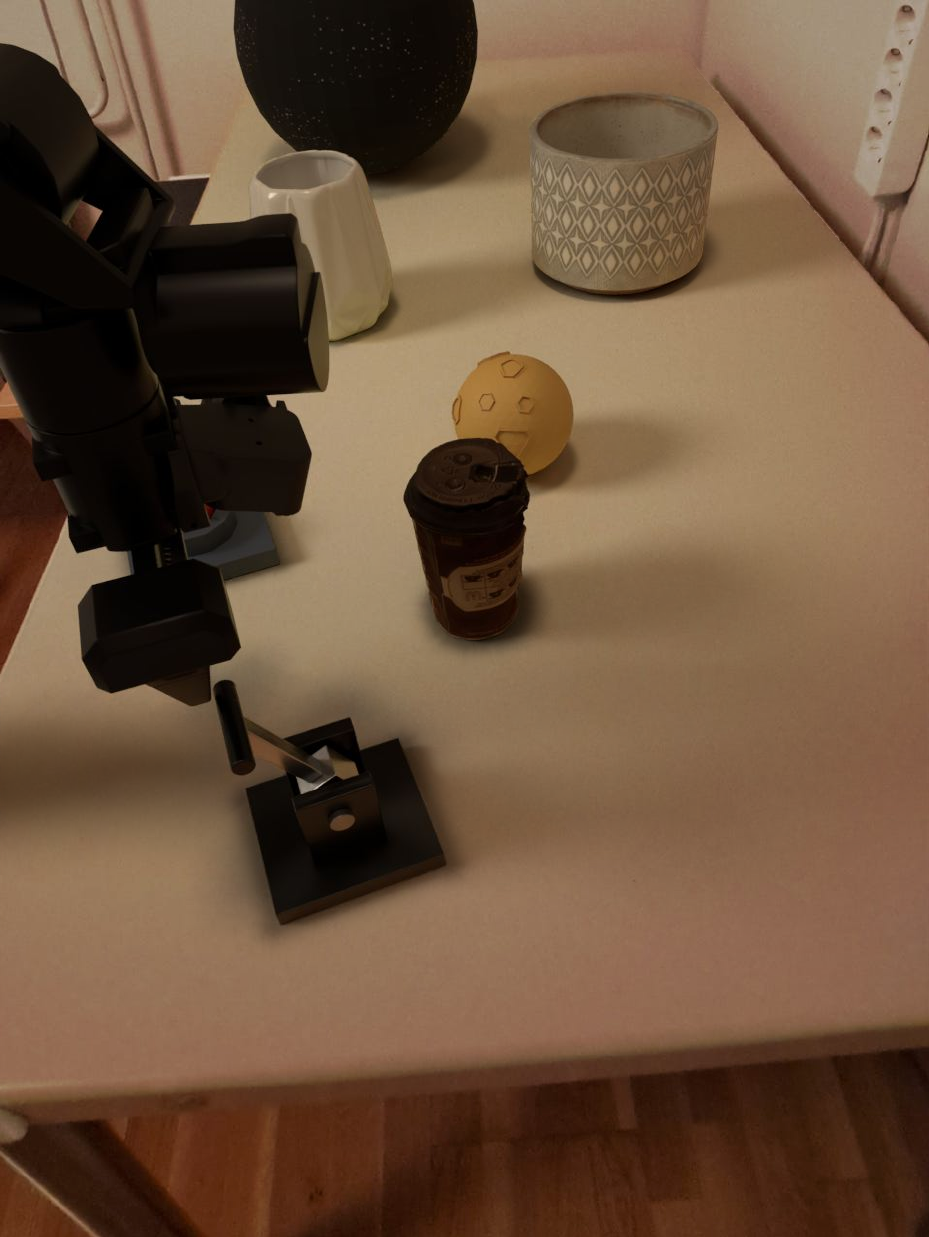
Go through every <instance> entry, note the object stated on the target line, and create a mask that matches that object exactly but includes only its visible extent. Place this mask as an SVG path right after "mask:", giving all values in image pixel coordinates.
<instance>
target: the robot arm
mask: <svg viewBox="0 0 929 1237" xmlns="http://www.w3.org/2000/svg"><path fill="white" fill-rule="evenodd" d="M175 201H176V200H174V198H173V197H172V196H171V195H170V194H169V193H168V192H167V191H166V190H164V188H163V187H161V185H160V184H158V183H157V182H156V181H155V179H153V178H152V177H151V176H150V175H149V174H148V173H147V172H145V171H144V169H142V168H141V167H140V166H139V165H138V164H137V163H136V162H135V161H134V160H133V159H132V158H131V157H130V156H128V155H127V154H126V152H124V151H123V150H122V149H121V148H120V147H119V146H118V145H117V144H116V143H115V142H113V141H112V140H111V138H109V137H108V136H107V135H106V134H105V133H104V132H103V131H102V130H101V129H99V127H98V126H96V125H95V123H94V121H93V118H92V117H91V114H90V113H89V111H88V109H87V107H86V105H85V104H84V102H83V100H82V98H81V96H80V95H79V94H78V92H76V90H74V88H73V87H72V86H71V85H70V84H69V83H68V81H66V79H65V78H64V77H63V76H62V75H61V72H60V69H59V68H58V67H57V66H56V65H55V64H54V63H52V62H50V61H49V60H47V59H46V58H44V57H43V56H42V55H40V54H38V53H36V52H33V51H31V50H28V49H27V48H23V47H20V46H18V45H16V44H11V43H3V42H0V370H1V372H2V375H3V376H4V379H5V380H6V382H7V385H8V387H9V389H10V391H11V394H12V395H13V397H14V400H15V402H16V404H17V406H18V408H19V411H20V412H21V414H22V417H23V419H24V421H25V424H26V426H27V429H28V430H29V432H30V434H31V448H32V449H31V452H32V464H33V466H34V469H35V471H36V472H37V474H38V476H39V479H40V480H41V482H42V483H43V482H48V481H53V483H54V485H55V487H56V490H57V491H58V493H59V495H60V498H61V500H62V502H63V504H64V506H65V508H66V517H67V518H66V519H67V530H68V538H69V541H70V542H71V545H72V547H73V549H74V551H75V553H76V554H77V555H78V554H82V553H85V552H86V553H87V552H90V551H93V550H94V551H95V550H98V549H101V548H106V550H107V551H108V552H112V553H125V552H126V553H127V551H131V555H132V562H133V569H134V574H132V575H131V574H128V575H125V576H121V577H117V578H112V579H108V580H106V581H102V582H98V583H93V584H91V585H90V587H89V588H88V589H87V591H86V592H85V594H84V595H83V597H82V598H81V600H80V601H79V603H78V604H77V616H78V627H79V629H78V630H79V641H80V653H81V661H82V663H83V665H84V667H85V668H86V671H87V672H88V675H89V676H90V678H91V679H92V682H93V683H94V685H95V687H96V689H98V690H101V691H103V692H105V693H107V694H111V695H112V694H116V693H119V692H123V691H126V690H130V689H134V688H137V687H140V686H144V685H145V686H148V687H149V688H152V689H154V690H156V691H158V692H160V693H162V694H164V695H166V696H168V697H170V698H172V699H174V700H176V701H178V702H180V703H183V704H185V705H186V706H189V707H198V706H200V705H205V704H208V703H210V702H211V701H212V685H211V684H212V683H211V682H212V681H211V680H212V679H211V667H212V666H215V665H219V664H222V663H226V662H229V661H231V660H232V659H233V658H234V657H235V656H236V655H237V653H238V652H239V651H240V650H241V649H242V645H241V640H240V637H239V632H238V628H237V624H236V619H235V615H234V611H233V606H232V604H231V600H230V597H229V592H228V590H227V586H226V583H225V580H223V577H222V574H221V571H220V568H218V567H215V566H212V565H210V564H207V563H204V562H202V561H199V560H196V559H194V558H193V559H190V560H188V557H187V552H186V547H185V542H184V537H183V532H184V533H187V532H191V531H195V530H199V529H203V528H207V527H210V522H209V517H208V514H207V511H206V508H205V505H204V503H205V504H206V505H207V506H209V507H211V508H213V509H216V510H221V511H244V512H264V513H273V515H274V516H276V517H289V516H294V515H297V514H298V513H300V511H301V510H302V506H303V501H304V496H305V491H306V486H307V481H308V476H309V473H310V472H309V471H310V467H311V461H312V457H313V452H312V449H311V446H310V443H309V441H308V439H307V436H306V433H305V431H304V427H303V426H302V423H301V420H300V419H299V417H298V416H297V415H296V414H295V413H294V411H291V410H289V409H288V407H287V405H286V401H285V400H282V399H281V400H280V399H279V400H278V399H277V400H276V401H275V406H273V405H272V404H271V401H270V400H269V397H268V396H279V395H280V396H281V395H298V394H299V395H301V394H314V393H316V394H317V393H324V392H326V391H327V388H328V385H329V380H330V379H329V378H330V340H329V333H328V321H327V311H326V303H325V296H324V289H323V283H322V278H321V273H320V272H315V268H314V264H313V260H312V257H311V254H310V251H309V249H308V247H307V246H306V244H304V243H302V241H301V235H300V230H299V224H298V219H297V217H295V216H294V215H293V214H291V213H286V214H270V215H262V216H258V217H255V218H252V219H251V218H249V219H246V220H240V221H230V222H228V221H227V222H213V223H200V224H199V223H198V224H181V225H170V222H171V220H172V218H173V215H174V213H175V211H176V202H175ZM82 202H83V203H85V204H87V205H90V206H92V207H93V208H95V209H97V210H99V211H101V213H100V214H99V216H98V219H97V220H96V222H95V224H94V225H93V227H92V229H91V231H90V232H89V234H88V236H87V238H86V239H84V238H83V237H81V236H80V234H78V233H77V232H76V231H74V230H73V229H72V228H71V227H69V226H68V223H69V222H70V220H71V219H72V217H73V215H74V214H75V212H76V210H77V209H78V207H79V206H80V204H81V203H82ZM179 397H183V398H184V399H186V400H189V401H196V400H200V404H182V403H181V400H180V399H179Z"/></svg>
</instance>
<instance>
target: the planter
mask: <svg viewBox="0 0 929 1237" xmlns="http://www.w3.org/2000/svg"><path fill="white" fill-rule="evenodd" d="M717 118H718V117H717V116H716V115H715V114H714V113H713V112H712V111H711V110H710V109H708V108H707V107H705V106H704V105H702V104H701V103H698V102H696V101H693V100H690V99H687V98H683V97H680V96H677V95H676V96H675V95H671V94H665V93H655V92H644V91H643V92H641V91H618V92H617V91H616V92H605V93H596V94H591V95H584V96H580V97H576V98H572V99H568V100H565V101H563V102H559V103H557V104H555V105H552V106H550V107H548V108H546V109H545V110H543V111H542V112H540V113H539V114H538V115H537V116H535V118H534V119H533V121H532V122H531V124H530V127H529V148H530V149H529V150H530V157H529V158H530V159H529V160H530V230H531V233H530V235H531V236H530V237H531V241H530V242H531V257H532V261H533V263H534V264H535V265H536V267H537V268H538V269H539V270H540V271H541V272H543V273H544V274H545V275H546V276H548V277H550V278H552V279H553V280H555V281H558V282H560V283H562V284H564V285H566V286H568V287H571V288H573V289H575V290H579V291H581V292H586V293H591V294H599V295H611V296H612V295H613V296H614V295H615V296H616V295H630V294H631V295H632V294H638V293H644V292H647V291H651V290H654V289H657V288H660V287H662V286H664V285H666V284H668V283H671V282H673V281H675V280H678V279H680V278H681V277H683V276H685V275H687V274H688V273H690V272H691V271H692V270H693V269H694V268H696V267H697V265H698V264H699V262H701V258H702V256H703V253H704V245H705V237H706V229H707V222H708V221H707V220H708V214H709V204H710V196H711V190H712V180H713V173H714V165H715V164H714V163H715V156H716V150H717V149H716V147H717V140H718V132H719V121H718V119H717Z"/></svg>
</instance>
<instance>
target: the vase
mask: <svg viewBox="0 0 929 1237" xmlns="http://www.w3.org/2000/svg"><path fill="white" fill-rule="evenodd" d="M248 185H249V186H248V200H249V219H252V218H255V217H258V216H262V215H270V214H286V213H291V214H293V215H294V216H295V217H297V219H298V224H299V230H300V235H301V241H302V243H304V244H306V246H307V247H308V249H309V251H310V254H311V257H312V260H313V264H314V268H315V272H320V273H321V278H322V283H323V289H324V296H325V303H326V311H327V321H328V333H329V342H331V341H332V342H333V341H335V342H336V341H339V340H342V339H344V338H345V339H346V338H348V337H350V336H353V335H355V334H359V333H360V332H363V331H365V330H368V329H371V328H372V327H373V326H374V325H375V324H376V323H377V321H378V318H379V316H380V315H381V314H382V313H383V312H384V311H385V310H386V309H387V307H388V306H389V299H390V293H391V290H392V288H393V287H392V286H393V282H394V279H393V278H394V277H393V269H392V264H391V260H390V256H389V252H388V249H387V244H386V241H385V238H384V233H383V230H382V227H381V223H380V220H379V217H378V213H377V209H376V206H375V203H374V200H373V196H372V193H371V190H370V186H369V182H368V180H367V177H366V174H364V171H363V169H362V167H361V166H360V164H359V163H358V162H357V161H356V160H355V159H354V158H352V157H349V156H348V155H347V154H344V153H340V152H337V151H330V150H322V151H318V150H309V151H302V152H297V151H295V152H288V153H286V154H284V155H279V156H276V157H274V158H271V159H269V160H266V161H265V162H264V163H263V164H261V165H260V166H258V167H257V170H255V171H254V173H253V174H252V176H251V178H250V180H249V184H248Z"/></svg>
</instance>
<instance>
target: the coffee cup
mask: <svg viewBox="0 0 929 1237" xmlns="http://www.w3.org/2000/svg"><path fill="white" fill-rule="evenodd" d="M527 478H529V475H528V474H527V472H526V470H525V469H524V465H523V464H522V463H521V461H520V460H519V459H518V458H516V457H515V456H514V455H513V454H512V453H511V452H510V451H508V449H507V448H506V447H505V446H504V445H502V444H501V443H497V442H496V441H494V440H493V439H490V438H465V439H458V438H456V439H454V440H449V441H446V442H443V443H442V444H440V445H437V446H436V447H434V448H432V449H431V450H429V451H428V452H427V454H425V455H424V456H423V457H422V458H421V460H420V461H419V463H418V464H417V466H416V469H415V472H414V473H413V474H412V476H411V477H410V478H409V480H408V482H407V484H406V487H405V489H404V492H403V497H402V501H403V503H404V506H405V508H406V510H407V513H408V516H409V517H410V518H411V522H412V526H413V529H414V535H415V536H414V537H415V539H416V543H417V551H418V553H419V557H420V562H421V567H422V571H423V573H424V577H425V584H426V587H427V588H428V597H429V601H430V605H431V606H432V611H433V614H434V617H435V620H436V622H437V624H438V625H439V626H440V628H441V629H442V630H443V631H444V632H446V633H447V635H449V636H451V637H453V638H458V639H462V640H467V641H478V640H485V639H488V638H491V637H493V636H496V635H499V634H501V633H503V632H504V631H506V629H508V627H510V626H511V625H512V623H513V622H514V620H515V619H516V616H517V613H518V611H519V608H520V602H519V599H518V592H517V591H518V590H519V587H520V585H521V582H522V580H523V556H524V553H525V552H524V548H525V536H526V532H527V526H526V525H525V524H524V523H525V520H526V518H525V515H524V513H525V512H526V511H527V510H528V509H529V504H530V502H531V501H530V500H531V493H530V491H529V488H528V485H527V481H526V480H527Z"/></svg>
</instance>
